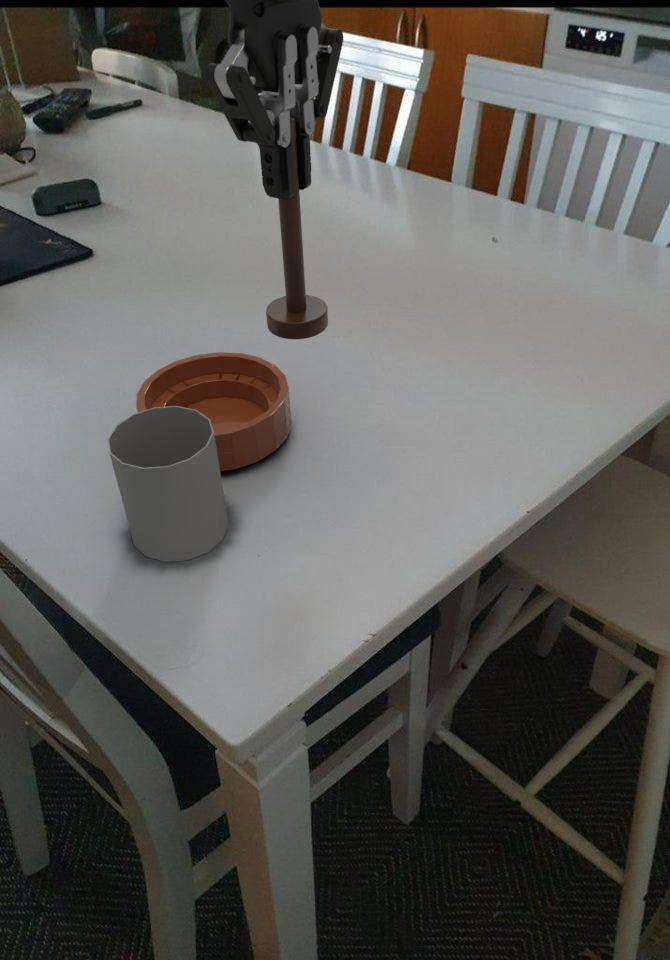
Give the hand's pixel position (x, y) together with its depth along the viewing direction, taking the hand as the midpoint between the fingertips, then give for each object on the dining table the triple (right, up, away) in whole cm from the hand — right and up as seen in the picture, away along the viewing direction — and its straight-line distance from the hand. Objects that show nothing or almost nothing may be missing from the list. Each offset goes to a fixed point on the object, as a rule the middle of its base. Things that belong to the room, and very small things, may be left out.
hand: (288, 191), depth 60 cm
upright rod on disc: (0, -9, +7) cm, 11 cm away
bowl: (-8, -17, +22) cm, 29 cm away
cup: (-10, -26, +11) cm, 30 cm away
